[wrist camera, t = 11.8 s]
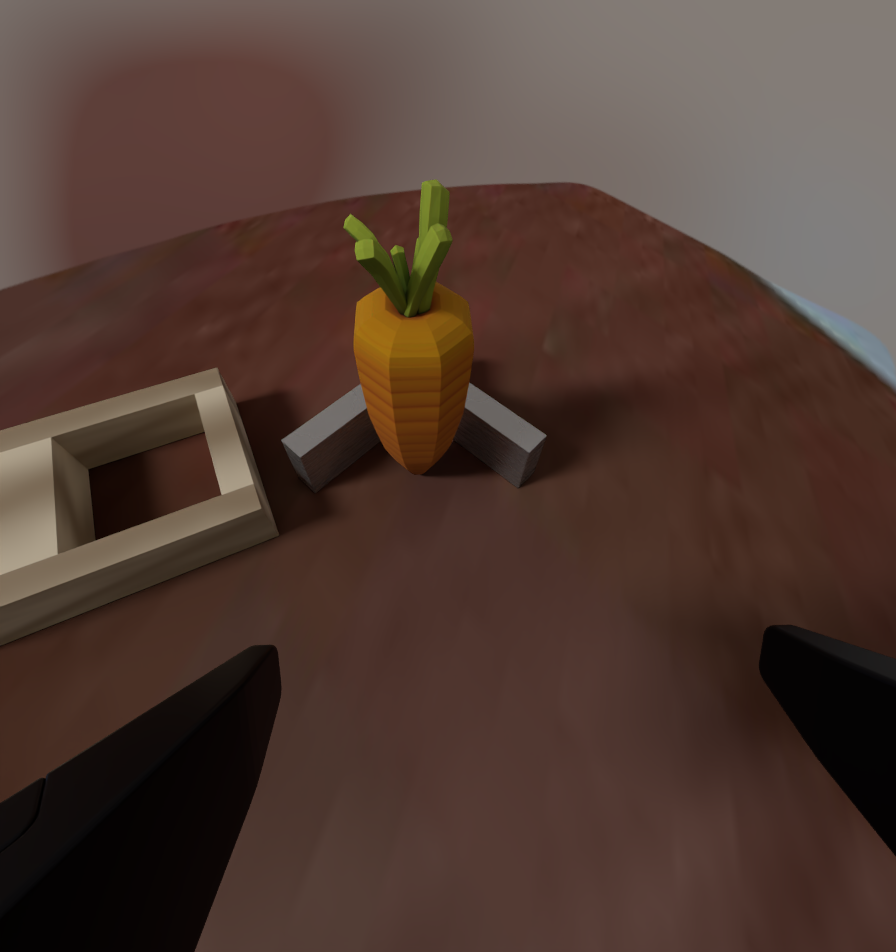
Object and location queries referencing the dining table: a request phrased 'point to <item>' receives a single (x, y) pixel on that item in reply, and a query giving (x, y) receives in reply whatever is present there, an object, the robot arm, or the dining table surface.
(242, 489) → the socket block
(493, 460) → the v-block
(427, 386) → the carrot
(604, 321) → the dining table surface
